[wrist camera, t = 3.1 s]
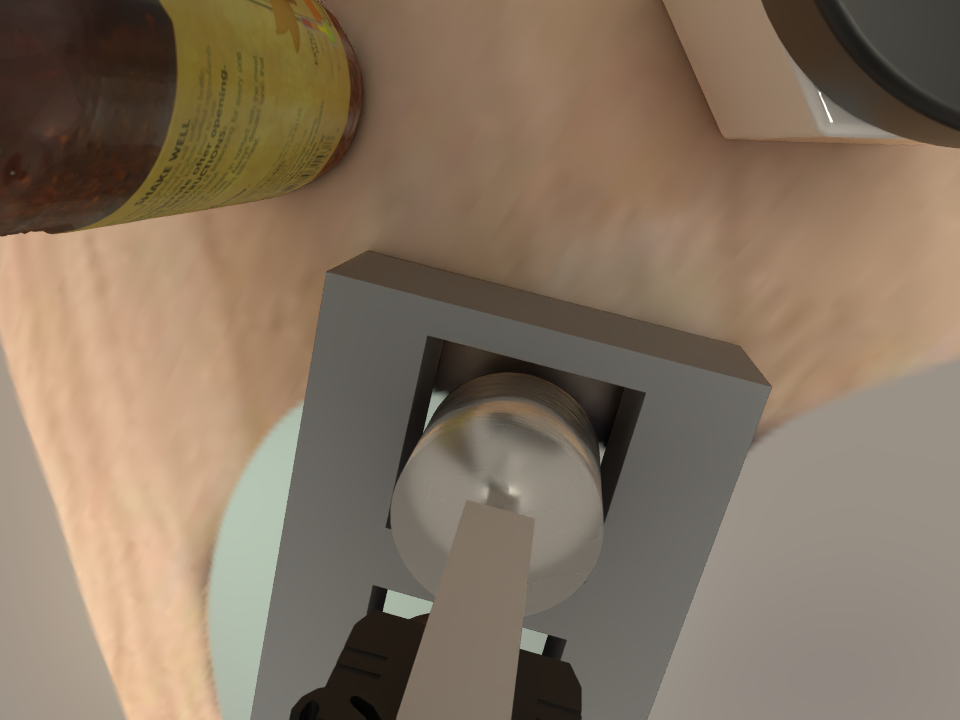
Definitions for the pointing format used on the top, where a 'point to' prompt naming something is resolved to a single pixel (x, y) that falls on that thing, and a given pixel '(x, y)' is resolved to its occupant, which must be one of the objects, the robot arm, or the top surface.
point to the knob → (505, 481)
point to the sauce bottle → (166, 107)
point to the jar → (827, 68)
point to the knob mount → (399, 426)
